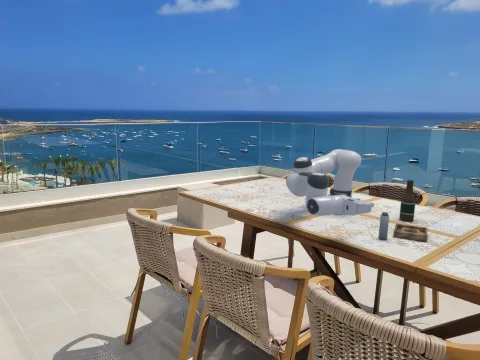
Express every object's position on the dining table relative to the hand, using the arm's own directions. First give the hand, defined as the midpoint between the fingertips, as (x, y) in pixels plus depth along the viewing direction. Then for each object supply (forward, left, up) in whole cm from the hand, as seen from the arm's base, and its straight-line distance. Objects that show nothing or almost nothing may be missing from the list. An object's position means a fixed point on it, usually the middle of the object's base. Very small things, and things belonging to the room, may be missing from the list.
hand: (365, 202), depth 171 cm
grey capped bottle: (+8, +9, -19) cm, 23 cm away
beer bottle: (+17, +52, -19) cm, 58 cm away
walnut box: (+20, +22, -19) cm, 36 cm away
